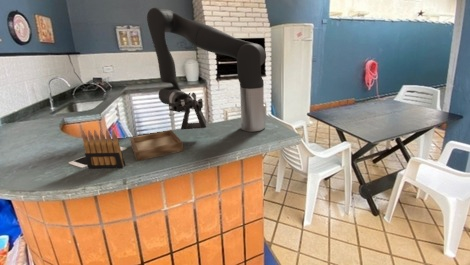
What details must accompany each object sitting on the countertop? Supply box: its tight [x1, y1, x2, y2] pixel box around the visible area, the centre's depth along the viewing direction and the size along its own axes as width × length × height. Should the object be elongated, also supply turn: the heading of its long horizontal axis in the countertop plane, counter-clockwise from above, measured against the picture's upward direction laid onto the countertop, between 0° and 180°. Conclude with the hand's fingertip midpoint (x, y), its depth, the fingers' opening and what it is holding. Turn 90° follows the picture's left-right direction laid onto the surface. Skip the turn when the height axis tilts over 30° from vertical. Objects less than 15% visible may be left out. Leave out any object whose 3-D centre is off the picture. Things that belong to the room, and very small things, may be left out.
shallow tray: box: [129, 129, 184, 162], centre depth 87 cm, size 15×15×3 cm
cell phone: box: [68, 146, 128, 169], centre depth 83 cm, size 8×16×1 cm, turn 151°
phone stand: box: [180, 92, 208, 130], centre depth 89 cm, size 9×6×12 cm, turn 93°
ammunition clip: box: [81, 129, 126, 170], centre depth 72 cm, size 11×2×12 cm, turn 87°
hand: (194, 109), depth 87 cm, fingers closed on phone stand, 3 cm apart
